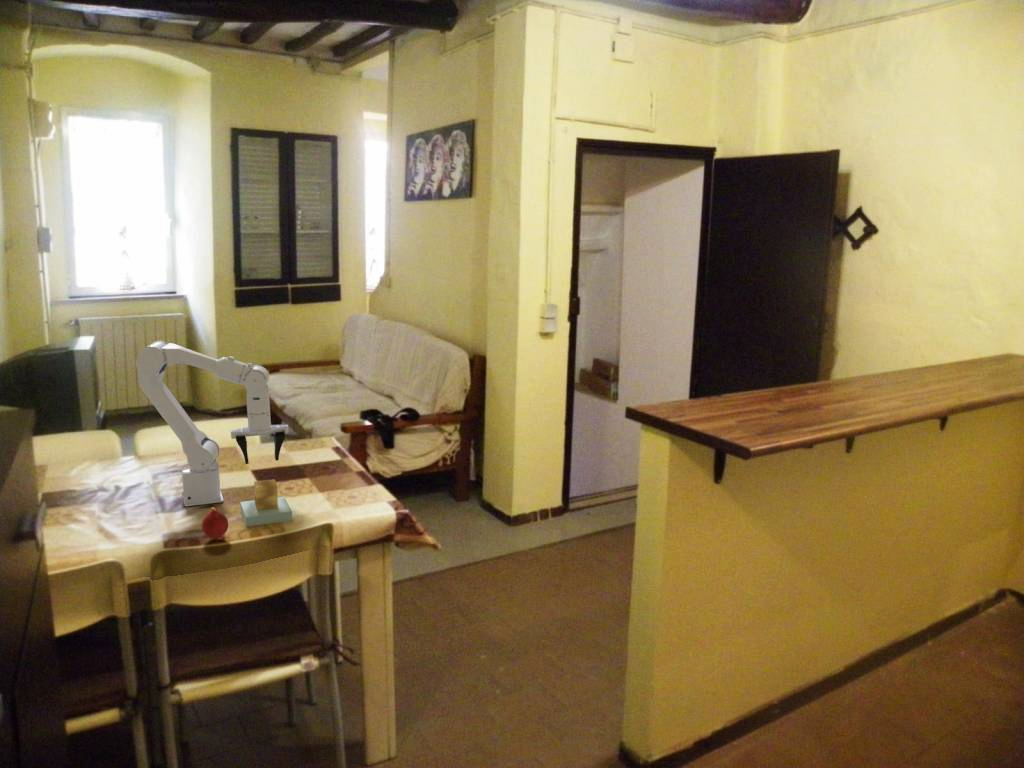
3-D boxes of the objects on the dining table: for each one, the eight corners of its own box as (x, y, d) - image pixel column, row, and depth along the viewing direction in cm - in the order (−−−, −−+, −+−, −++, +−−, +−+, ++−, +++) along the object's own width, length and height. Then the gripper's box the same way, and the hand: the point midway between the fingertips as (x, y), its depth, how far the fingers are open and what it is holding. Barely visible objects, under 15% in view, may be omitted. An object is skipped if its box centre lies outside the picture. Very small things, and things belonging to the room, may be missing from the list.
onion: (232, 534, 185) (230, 503, 183) (224, 544, 179) (222, 512, 177) (207, 534, 185) (205, 502, 183) (198, 544, 179) (196, 512, 177)
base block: (246, 528, 190) (245, 517, 189) (240, 513, 200) (240, 502, 199) (292, 522, 195) (291, 511, 194) (284, 507, 204) (284, 496, 204)
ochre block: (257, 510, 194) (256, 487, 192) (254, 503, 198) (254, 481, 197) (277, 508, 196) (277, 485, 194) (275, 501, 200) (274, 479, 199)
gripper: (231, 418, 197) (234, 468, 200) (289, 412, 203) (291, 462, 206) (228, 411, 204) (232, 461, 207) (285, 406, 209) (288, 454, 212)
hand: (261, 461), depth 207 cm, fingers open, 7 cm apart
